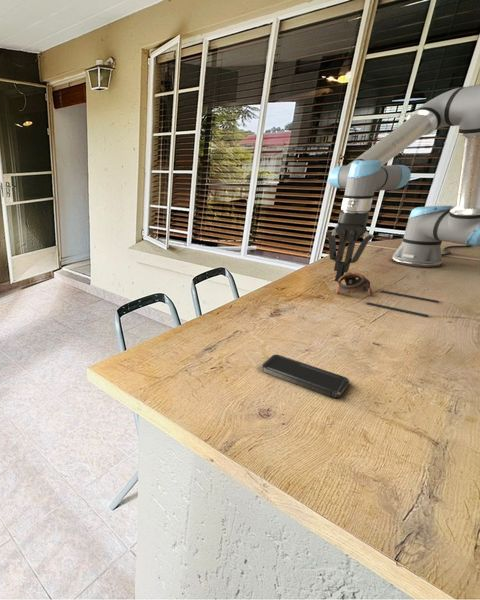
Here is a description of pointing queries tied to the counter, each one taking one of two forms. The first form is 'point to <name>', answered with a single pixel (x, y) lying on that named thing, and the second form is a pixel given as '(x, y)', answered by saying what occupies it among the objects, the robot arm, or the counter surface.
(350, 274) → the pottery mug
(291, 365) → the phone
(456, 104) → the robot arm
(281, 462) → the counter surface
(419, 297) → the bay strips
